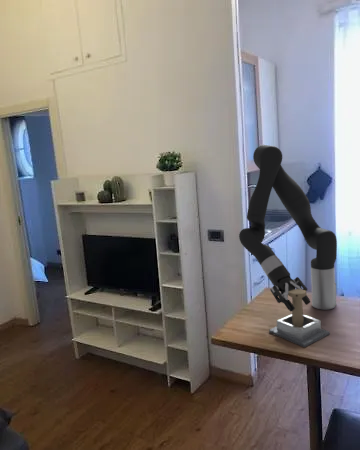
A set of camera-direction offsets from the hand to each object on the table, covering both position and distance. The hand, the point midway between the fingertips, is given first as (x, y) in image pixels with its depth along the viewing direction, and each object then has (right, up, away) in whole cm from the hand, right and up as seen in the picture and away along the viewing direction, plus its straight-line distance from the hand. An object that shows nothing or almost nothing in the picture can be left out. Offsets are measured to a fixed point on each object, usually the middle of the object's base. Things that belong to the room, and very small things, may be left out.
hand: (300, 306), depth 140 cm
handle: (0, -9, +3) cm, 10 cm away
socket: (0, -10, +3) cm, 11 cm away
